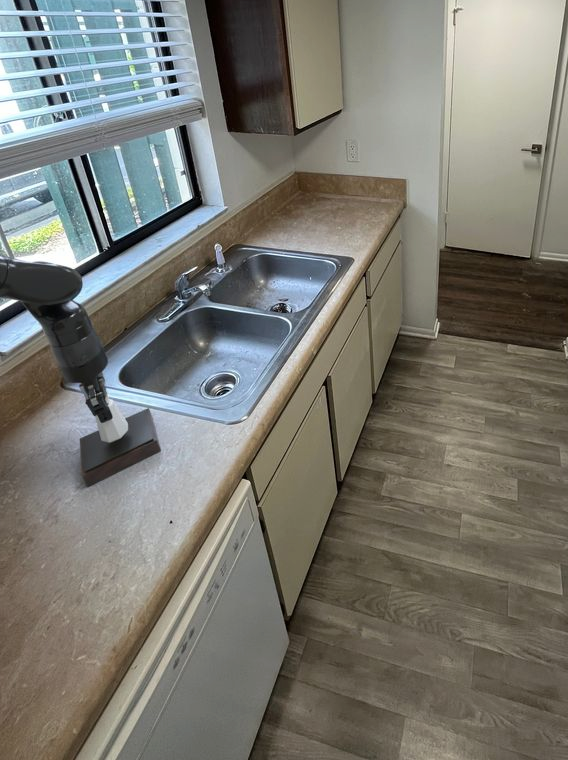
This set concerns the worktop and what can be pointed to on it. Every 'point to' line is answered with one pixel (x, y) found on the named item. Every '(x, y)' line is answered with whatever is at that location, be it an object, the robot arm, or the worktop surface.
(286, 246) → the worktop surface
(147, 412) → the wedge
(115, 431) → the pepper shaker
